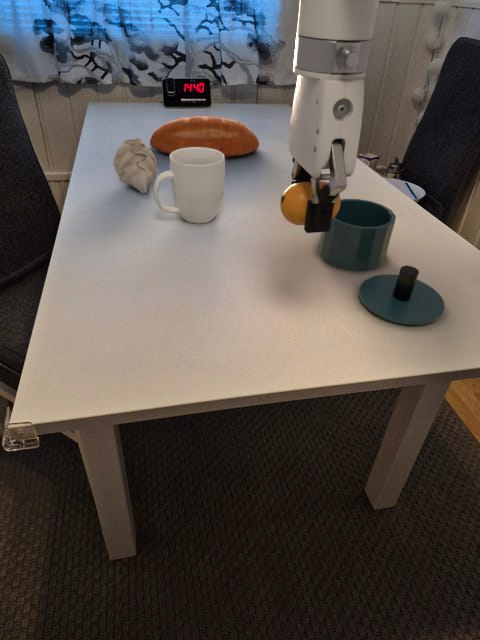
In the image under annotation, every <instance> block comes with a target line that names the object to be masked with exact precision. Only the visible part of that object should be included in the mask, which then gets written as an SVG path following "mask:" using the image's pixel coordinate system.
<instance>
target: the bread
mask: <svg viewBox="0 0 480 640" xmlns="http://www.w3.org/2000/svg"><path fill="white" fill-rule="evenodd" d="M149 145H150V146H151V148H152V149H155V150H157V151H159V152H162V153H165V154H168V155H170V154H171V153H172V152H173V151H175V150H178V149H182V148H188V147H205V148H211V149H215V150H218V151H220V152H221V153H223V154H224V156H225V158H231V157H232V158H233V157H238V156H243V155H247V154H249V153H252V152H254V151H256V150H257V149H258V148H259V146H260V141H259V138H258V137H257V135H256V134H255V133H254V132H253V131H252V130H251V129H250V128H249V127H248V126H246V125H245V124H244V123H242V122H240V121H236V120H234V119H229V118H223V117H219V116H213V115H212V116H210V115H207V116H206V115H205V116H203V115H194V116H189V117H181V118H177V119H174V120H170V121H167V122H165V123H163V124H162V125H161V126H158V128H157V129H155V131H153V133H152V135H151V137H150V139H149Z"/></svg>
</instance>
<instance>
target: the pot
mask: <svg viewBox="0 0 480 640" xmlns="http://www.w3.org/2000/svg"><path fill="white" fill-rule="evenodd" d="M340 200H341V203H340V208H339V211H338V213H337V215H336V216H335V217H334V218H333V219H332V220H331V226H330V230H329V231H327V232H320V238H319V242H318V243H319V244H318V253H319V256H320V258H322V260H323V261H325V262H326V263H327V264H329V265H331V266H333V267H336V268H339V269H342V270H346V271H352V272H368V271H372V270H376V269H378V268H380V267H381V266H382V265H383V264H384V262H385V260H386V256H387V252H388V248H389V245H390V241H391V237H392V235H393V230H394V227H395V224H396V219H397V217H396V214H395V213H394V212H393V210H392V209H390V208H388V207H386V206H385V205H383V204H381V203H378V202H375V201H372V200H367V199H361V198H342V199H341V198H340Z"/></svg>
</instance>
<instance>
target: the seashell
mask: <svg viewBox="0 0 480 640" xmlns="http://www.w3.org/2000/svg"><path fill="white" fill-rule="evenodd" d="M112 164H113V167H114V171H115V172H116V174H117V176H118V178H119V180H120V181H121V182H122V183H125V184H126V185H130V186H132V187H133V188H134V189H136V190H138V191H139V192H140V194H142V195H143V194H147V193H148V192H147V191H148V186H149V184H151V183H152V182H153V180H154V179H155V178H156V176H157V173H158V163H157V159H156V157H155V155H154V153H153V152H152V150H151V149H150V147H148V146H147V145H146V144H145V143H144V141H143V140H142V139H141V138H133V139H126V140H124V141H123V143H122V145H120V146H119V148H118V149H117V150H116V152H115V155H114V157H113V163H112Z"/></svg>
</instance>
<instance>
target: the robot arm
mask: <svg viewBox="0 0 480 640" xmlns="http://www.w3.org/2000/svg"><path fill="white" fill-rule="evenodd" d="M389 1H390V2H396V3H401V4H422V3H430V2H447V1H449V0H389ZM379 4H380V0H299V4H298V5H299V7H298V17H297V25H296V26H297V27H296V37H295V49H294V57H293V66H292V67H293V68H292V72H293V73H294V74H295V75H297V78H296V84H295V88H294V95H293V102H292V107H291V116H290V125H289V134H288V149H289V153H290V155H291V156H292V159H291V162H292V164H293V166H292V170H291V180H292V181H291V183H290V186H291V185H293V184H296V183H300V182H312V188H311V200H308V203H307V210H306V218H305V225H303V230H304V232H305V233H306V234H312V233H313V234H314V233H321V232H327V231H329V230H330V226H331V220H332V214H333V209H334V203H335V202H336V201H337V196H338V195H340V194H341V193H342V192H344V191H345V190H346V189H347V186H348V180H347V178H348V177H352V176H353V174H354V172H355V168H356V164H357V158H358V151H359V145H360V138H361V133H362V132H361V131H362V123H363V115H364V114H363V113H364V101H365V79H364V78H365V77H366V75H367V69H368V63H369V58H370V52H371V48H372V47H371V46H372V39H373V35H374V31H375V27H376V26H375V25H376V21H377V13H378V10H379ZM323 170H329V173H322V171H323ZM320 181H329V182H327V183H328V185H324V186H323V187H322V188H321V189H320Z"/></svg>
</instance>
